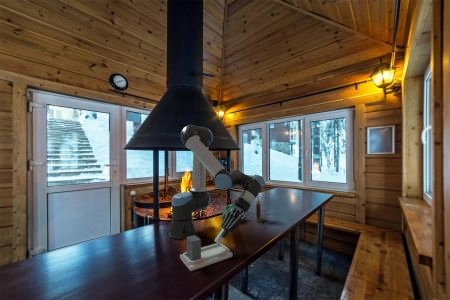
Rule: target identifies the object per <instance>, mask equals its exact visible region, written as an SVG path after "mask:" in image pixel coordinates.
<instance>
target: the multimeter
mask: <svg viewBox="0 0 450 300" xmlns="http://www.w3.org/2000/svg"><path fill="white" fill-rule="evenodd" d="M259 194H260V193H259ZM259 194H258V196H257V197H256V198H257V200H256V202H255V211H256V212H255V213H256V214H255V216H256V221H255V222H256V223H259V224H261V220H262V216H261V215H262V214H261V212H262V211H261V209H262V208H261V200H259ZM264 221H265V222H264V225H266V224H268V223H270V221H269V220H266V219H264ZM267 221H268V222H267Z"/></svg>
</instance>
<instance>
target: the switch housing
mask: <svg viewBox="0 0 450 300" xmlns="http://www.w3.org/2000/svg"><path fill="white" fill-rule="evenodd" d="M232 257H233V252H231V249H230V248H229V247H227V246H226V245H225V244H223V243H222V242H221V243H220V245H219V244H218V243H217V242H215V243H213V244H210V245H206V246H201V258H200V259H197V260H194V261H191V260H190V259H189V258H188V256H187V251H185V252H183V253H182V254H179V259H180V260H181V261H182V262H183V264H184V265H185V266H186V267H187V269H188V270H189V271H190V272H193V271H195V270H198V269H201V268H204V267H208V266H210V265H212V264H215V263H219V262H221V261H224V260H226V259H227V260H228V259H229V258H232Z"/></svg>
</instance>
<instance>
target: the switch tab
mask: <svg viewBox="0 0 450 300" xmlns="http://www.w3.org/2000/svg"><path fill="white" fill-rule="evenodd" d="M201 248H202V240H201V238H200V237H198V235H196V234H195V235H193V236H189V237H187V238H186V252H187V256H188V258H189V259H190V260H191V261H194V260H197V259H200V258H201Z"/></svg>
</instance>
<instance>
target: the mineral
mask: <svg viewBox="0 0 450 300" xmlns="http://www.w3.org/2000/svg"><path fill="white" fill-rule="evenodd" d="M234 206H235V203H230V204H228V205H225V206H224V207H223V210H222V213H221V214H222V215H221V219H222V221H223V220H224V218H225V216H226V214H227V211H228V209H230V210H231V209H232V208H233V207H234Z"/></svg>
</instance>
